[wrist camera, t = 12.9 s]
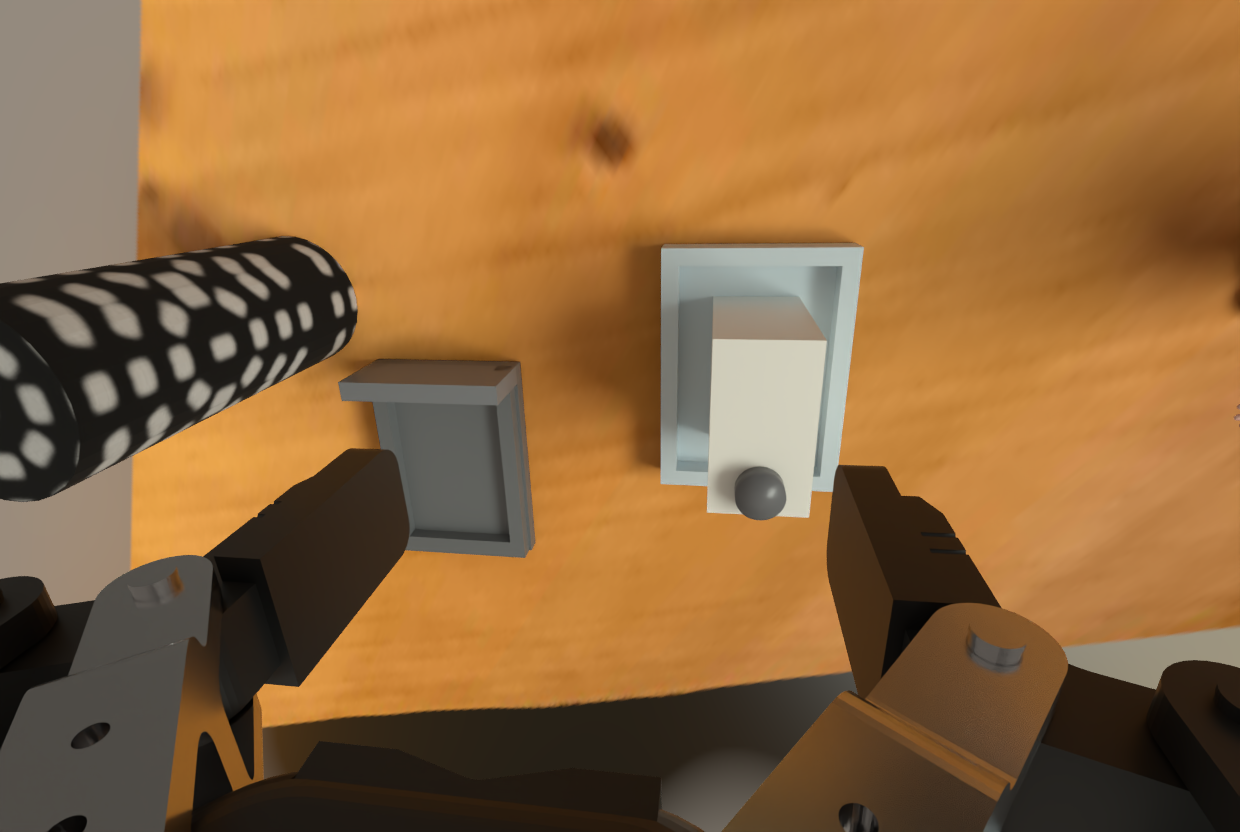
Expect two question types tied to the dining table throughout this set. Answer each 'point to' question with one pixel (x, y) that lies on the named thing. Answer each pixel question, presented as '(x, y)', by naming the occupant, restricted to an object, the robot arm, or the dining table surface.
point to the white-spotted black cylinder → (154, 351)
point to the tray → (686, 337)
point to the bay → (455, 450)
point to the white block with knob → (763, 406)
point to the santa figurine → (1237, 417)
